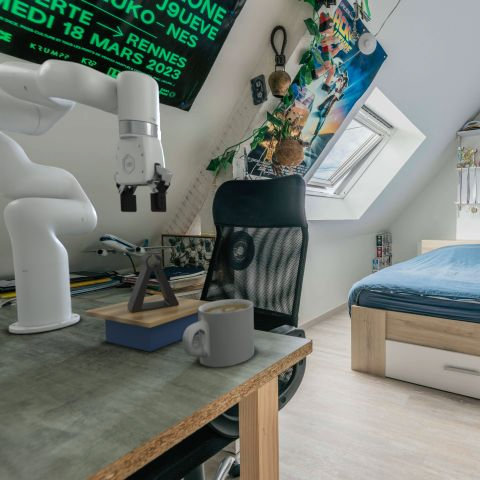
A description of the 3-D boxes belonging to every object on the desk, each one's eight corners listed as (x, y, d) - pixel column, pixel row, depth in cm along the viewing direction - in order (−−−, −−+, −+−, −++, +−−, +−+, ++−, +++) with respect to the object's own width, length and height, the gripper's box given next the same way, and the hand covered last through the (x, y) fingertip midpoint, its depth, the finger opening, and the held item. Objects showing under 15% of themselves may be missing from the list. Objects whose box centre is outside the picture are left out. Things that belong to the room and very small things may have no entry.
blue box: (106, 341, 70) (104, 314, 69) (158, 324, 81) (157, 301, 80) (150, 351, 65) (149, 322, 64) (199, 332, 76) (199, 307, 75)
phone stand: (130, 313, 67) (128, 256, 66) (127, 307, 72) (124, 253, 71) (179, 305, 73) (177, 253, 72) (173, 300, 78) (171, 251, 77)
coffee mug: (239, 341, 70) (238, 296, 69) (263, 355, 63) (262, 305, 63) (172, 361, 60) (170, 309, 60) (191, 379, 54) (189, 321, 53)
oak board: (85, 315, 69) (85, 311, 69) (156, 298, 83) (156, 294, 83) (149, 328, 61) (149, 322, 61) (215, 306, 76) (215, 302, 76)
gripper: (96, 133, 70) (100, 211, 71) (150, 125, 64) (154, 211, 65) (131, 140, 77) (134, 212, 78) (183, 134, 71) (186, 212, 72)
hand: (143, 211), depth 71 cm, fingers open, 9 cm apart
